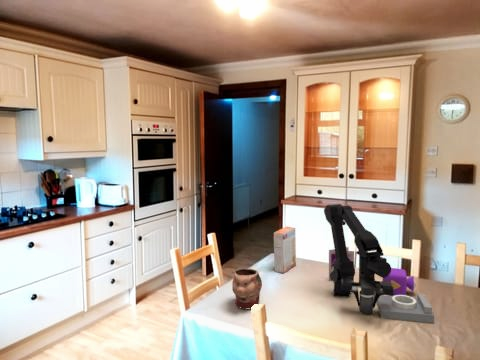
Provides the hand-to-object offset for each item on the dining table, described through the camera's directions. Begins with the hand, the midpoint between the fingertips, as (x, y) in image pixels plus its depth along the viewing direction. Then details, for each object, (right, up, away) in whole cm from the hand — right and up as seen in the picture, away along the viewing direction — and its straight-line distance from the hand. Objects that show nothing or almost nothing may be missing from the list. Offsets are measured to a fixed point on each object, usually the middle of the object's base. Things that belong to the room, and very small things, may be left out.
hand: (366, 306), depth 141 cm
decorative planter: (-46, -2, +10) cm, 47 cm away
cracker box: (-25, +3, +49) cm, 55 cm away
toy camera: (+20, 0, +18) cm, 27 cm away
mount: (+14, -2, 0) cm, 14 cm away
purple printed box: (-1, +1, +33) cm, 33 cm away
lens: (0, -2, 0) cm, 2 cm away
